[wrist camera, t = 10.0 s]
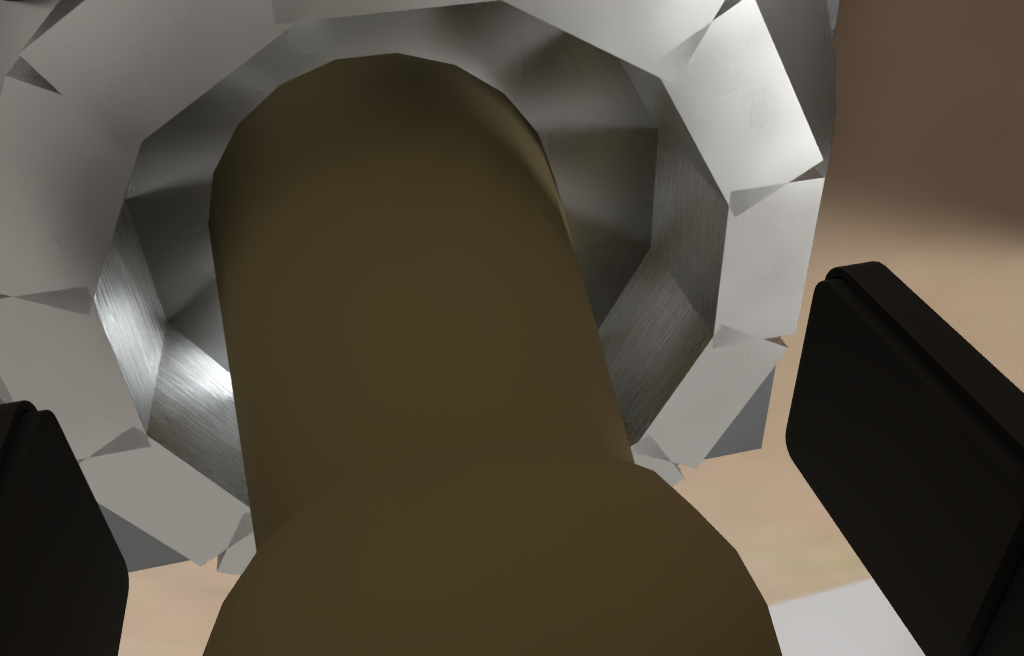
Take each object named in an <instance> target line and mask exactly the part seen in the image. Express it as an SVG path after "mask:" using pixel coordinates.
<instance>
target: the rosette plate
mask: <svg viewBox="0 0 1024 656" xmlns="http://www.w3.org/2000/svg"><path fill="white" fill-rule="evenodd" d="M839 3H840V0H0V403H1V404H4V403H10V402H16V401H23V400H26V401H30V402H31V403H32V404H33V405H35V407H36V409H37V410H38V411H41V410H50V411H52V412H53V413H54V415H55V416H56V418H57V420H58V422H59V424H60V426H61V428H62V430H63V432H64V434H65V437H66V439H67V441H68V443H69V445H70V447H71V449H72V451H73V453H74V455H75V457H76V459H77V462H78V464H79V466H80V468H81V470H82V472H83V474H84V476H85V478H86V480H87V482H88V485H89V487H90V489H91V491H92V493H93V495H94V497H95V499H96V501H97V503H98V505H99V507H100V510H101V512H102V514H103V516H104V518H105V520H106V522H107V524H108V526H109V528H110V530H111V532H112V535H113V537H114V539H115V541H116V543H117V545H118V547H119V549H120V551H121V553H122V555H123V557H124V560H125V562H126V566H127V570H128V572H132V571H138V570H143V569H148V568H153V567H158V566H163V565H168V564H173V563H178V562H183V561H189V560H191V561H193V562H195V563H196V564H198V565H200V566H202V565H203V564H205V563H206V562H208V561H209V560H211V559H213V558H214V557H216V556H217V555H218V562H217V572H222V573H229V574H236V575H242V573H243V572H244V570H245V569H246V567H247V566H248V564H249V563H250V561H251V560H252V558H253V557H254V555H255V554H256V545H255V539H254V532H253V525H252V518H251V512H250V505H249V498H248V491H247V485H246V478H245V471H244V464H243V458H242V451H241V444H240V437H239V431H238V424H237V417H236V410H235V403H234V397H233V390H232V383H231V376H230V370H229V363H228V356H227V349H226V343H225V336H224V329H223V322H222V316H221V309H220V302H219V295H218V289H217V282H216V275H215V268H214V262H213V255H212V248H211V241H210V235H209V228H208V221H209V211H210V200H211V190H212V179H213V173H214V171H215V169H216V167H217V165H218V163H219V161H220V159H221V157H222V155H223V153H224V151H225V149H226V147H227V145H228V143H229V141H230V139H231V137H232V135H233V133H234V131H235V129H236V127H237V125H238V124H239V123H240V122H241V121H242V120H243V119H244V118H245V117H246V116H247V115H248V114H249V113H251V112H252V111H253V110H254V109H255V108H256V107H257V106H258V105H259V104H260V103H261V102H262V101H263V100H264V99H265V98H266V97H268V96H269V95H270V94H271V93H272V92H273V91H274V90H275V89H276V88H277V87H278V86H279V85H280V84H283V83H285V82H287V81H289V80H291V79H294V78H296V77H298V76H300V75H303V74H305V73H307V72H309V71H311V70H314V69H316V68H318V67H320V66H322V65H325V64H327V63H329V62H331V61H334V60H336V59H344V58H353V57H363V56H372V55H381V54H391V53H401V54H406V55H410V56H415V57H420V58H425V59H429V60H434V61H439V62H444V63H449V64H453V65H457V66H458V67H460V68H462V69H463V70H465V71H467V72H469V73H470V74H472V75H474V76H475V77H477V78H479V79H481V80H482V81H484V82H486V83H487V84H489V85H491V86H493V87H494V88H496V89H498V90H499V91H501V92H503V93H504V94H505V95H506V96H507V97H508V98H509V100H510V101H511V102H512V103H513V104H514V105H515V107H516V108H517V109H518V110H519V111H520V112H521V114H522V115H523V116H524V117H525V118H526V120H527V121H528V122H529V123H530V124H531V125H532V127H533V128H534V129H535V130H536V131H537V132H538V135H539V137H540V140H541V143H542V145H543V148H544V151H545V153H546V156H547V159H548V161H549V164H550V167H551V170H552V172H553V175H554V178H555V181H556V184H557V188H558V192H559V195H560V199H561V202H562V206H563V209H564V213H565V216H566V220H567V224H568V227H569V231H570V234H571V238H572V241H573V245H574V248H575V252H576V256H577V259H578V263H579V266H580V270H581V273H582V277H583V280H584V284H585V288H586V291H587V295H588V298H589V302H590V305H591V309H592V312H593V316H594V320H595V323H596V327H597V330H598V334H599V337H600V341H601V345H602V348H603V352H604V355H605V359H606V362H607V366H608V369H609V373H610V377H611V380H612V384H613V387H614V391H615V394H616V398H617V401H618V405H619V409H620V412H621V416H622V419H623V423H624V426H625V430H626V433H627V437H628V441H629V444H630V448H631V451H632V455H633V458H634V462H635V464H637V465H640V466H642V467H645V468H648V469H650V470H653V471H655V472H656V473H657V474H658V475H659V476H660V477H661V478H663V479H664V480H665V481H666V482H667V483H668V484H669V485H670V486H671V487H672V486H673V485H675V484H677V483H678V482H680V481H682V480H683V479H685V478H684V476H683V475H682V473H681V471H680V469H679V467H678V464H681V465H685V466H689V467H693V468H697V467H698V466H699V464H700V463H701V462H702V461H703V460H704V459H709V458H714V457H719V456H724V455H729V454H734V453H739V452H745V451H750V450H755V449H760V448H761V446H762V440H763V435H764V429H765V423H766V418H767V412H768V406H769V401H770V395H771V389H772V384H773V378H774V372H775V367H776V364H777V363H778V361H779V360H780V359H781V358H782V356H783V355H784V354H785V352H786V351H787V350H788V347H787V345H786V344H785V343H784V342H783V340H782V339H781V336H784V335H790V334H796V329H797V323H798V318H799V313H800V307H801V302H802V297H803V291H804V286H805V281H806V276H807V270H808V265H809V260H810V254H811V249H812V244H813V238H814V233H815V228H816V222H817V217H818V212H819V207H820V201H821V196H822V191H823V186H824V182H825V178H826V174H827V170H828V166H829V160H830V152H831V144H832V136H833V128H834V120H835V55H834V48H833V37H834V32H835V26H836V20H837V15H838V9H839Z"/></svg>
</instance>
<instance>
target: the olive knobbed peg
mask: <svg viewBox="0 0 1024 656" xmlns="http://www.w3.org/2000/svg"><path fill="white" fill-rule="evenodd" d="M208 228H209V235H210V241H211V248H212V255H213V262H214V268H215V275H216V282H217V289H218V295H219V302H220V309H221V316H222V322H223V329H224V336H225V343H226V349H227V356H228V363H229V370H230V376H231V383H232V390H233V397H234V403H235V410H236V417H237V424H238V431H239V437H240V444H241V451H242V458H243V464H244V471H245V478H246V485H247V491H248V498H249V505H250V512H251V518H252V525H253V532H254V539H255V545H256V554H255V555H254V557H253V558H252V560H251V561H250V563H249V564H248V566H247V567H246V569H245V570H244V572H243V573H242V575H241V576H240V578H239V579H238V581H237V582H236V584H235V585H234V587H233V588H232V590H231V591H230V593H229V594H228V596H227V597H226V599H225V600H224V602H223V604H222V606H221V609H220V611H219V614H218V617H217V619H216V622H215V624H214V627H213V630H212V632H211V635H210V637H209V640H208V643H207V645H206V648H205V650H204V653H203V656H782V653H781V649H780V646H779V643H778V639H777V636H776V633H775V630H774V626H773V623H772V619H771V616H770V613H769V609H768V606H767V604H766V602H765V600H764V598H763V596H762V595H761V593H760V591H759V589H758V588H757V586H756V584H755V582H754V581H753V579H752V577H751V575H750V574H749V572H748V570H747V568H746V567H745V565H744V563H743V561H742V560H741V558H740V556H739V554H738V552H737V551H736V550H735V548H734V547H733V546H732V545H731V544H730V543H729V542H728V541H727V540H726V539H725V538H724V537H723V536H722V535H721V534H720V533H719V532H718V531H717V530H716V529H715V528H714V527H713V526H712V525H711V524H710V523H709V522H708V521H707V520H706V519H705V518H704V517H703V516H702V515H701V514H700V513H699V512H698V511H697V510H696V509H695V508H694V507H693V506H692V505H691V504H690V503H689V502H688V501H687V500H685V499H684V498H683V497H682V496H681V495H680V494H679V493H678V492H677V491H676V490H675V489H673V488H672V487H671V486H670V485H669V484H668V483H667V482H666V481H665V480H664V479H663V478H661V477H660V476H659V475H658V474H657V473H656V472H655V471H653V470H650V469H648V468H645V467H642V466H640V465H637V464H635V462H634V458H633V455H632V451H631V448H630V444H629V441H628V437H627V433H626V430H625V426H624V423H623V419H622V416H621V412H620V409H619V405H618V401H617V398H616V394H615V391H614V387H613V384H612V380H611V377H610V373H609V369H608V366H607V362H606V359H605V355H604V352H603V348H602V345H601V341H600V337H599V334H598V330H597V327H596V323H595V320H594V316H593V312H592V309H591V305H590V302H589V298H588V295H587V291H586V288H585V284H584V280H583V277H582V273H581V270H580V266H579V263H578V259H577V256H576V252H575V248H574V245H573V241H572V238H571V234H570V231H569V227H568V224H567V220H566V216H565V213H564V209H563V206H562V202H561V199H560V195H559V192H558V188H557V184H556V181H555V178H554V175H553V172H552V170H551V167H550V164H549V161H548V159H547V156H546V153H545V151H544V148H543V145H542V143H541V140H540V137H539V135H538V132H537V131H536V130H535V129H534V128H533V127H532V125H531V124H530V123H529V122H528V121H527V120H526V118H525V117H524V116H523V115H522V114H521V112H520V111H519V110H518V109H517V108H516V107H515V105H514V104H513V103H512V102H511V101H510V100H509V98H508V97H507V96H506V95H505V94H504V93H503V92H501V91H499V90H498V89H496V88H494V87H493V86H491V85H489V84H487V83H486V82H484V81H482V80H481V79H479V78H477V77H475V76H474V75H472V74H470V73H469V72H467V71H465V70H463V69H462V68H460V67H458V66H457V65H453V64H449V63H444V62H439V61H434V60H429V59H425V58H420V57H415V56H410V55H406V54H401V53H391V54H381V55H372V56H363V57H353V58H344V59H336V60H334V61H331V62H329V63H327V64H325V65H322V66H320V67H318V68H316V69H314V70H311V71H309V72H307V73H305V74H303V75H300V76H298V77H296V78H294V79H291V80H289V81H287V82H285V83H283V84H280V85H279V86H278V87H277V88H276V89H275V90H274V91H273V92H272V93H271V94H270V95H269V96H268V97H266V98H265V99H264V100H263V101H262V102H261V103H260V104H259V105H258V106H257V107H256V108H255V109H254V110H253V111H252V112H251V113H249V114H248V115H247V116H246V117H245V118H244V119H243V120H242V121H241V122H240V123H239V124H238V125H237V127H236V129H235V131H234V133H233V135H232V137H231V139H230V141H229V143H228V145H227V147H226V149H225V151H224V153H223V155H222V157H221V159H220V161H219V163H218V165H217V167H216V169H215V171H214V173H213V179H212V190H211V200H210V211H209V221H208Z"/></svg>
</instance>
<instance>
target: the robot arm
mask: <svg viewBox="0 0 1024 656" xmlns="http://www.w3.org/2000/svg"><path fill="white" fill-rule="evenodd" d="M785 437H786V445H787V449H788V452H789V455H790V457H791V459H792V461H793V462H794V464H795V465H796V466H797V468H798V469H799V471H800V472H801V474H802V475H803V477H804V478H805V480H806V481H807V483H808V484H809V485H810V487H811V488H812V490H813V491H814V493H815V494H816V496H817V497H818V499H819V500H820V502H821V503H822V505H823V506H824V507H825V509H826V510H827V512H828V513H829V515H830V516H831V518H832V519H833V521H834V522H835V524H836V525H837V526H838V528H839V529H840V531H841V532H842V534H843V535H844V537H845V538H846V540H847V541H848V543H849V544H850V545H851V547H852V548H853V550H854V551H855V553H856V554H857V556H858V557H859V559H860V560H861V562H862V563H863V565H864V566H865V567H866V569H867V570H868V572H869V573H870V575H871V576H872V578H873V579H874V580H875V582H876V583H877V585H878V586H879V588H880V589H881V591H882V592H883V594H884V595H885V597H886V598H887V599H888V601H889V602H890V604H891V605H892V607H893V608H894V610H895V611H896V613H897V614H898V616H899V617H900V619H901V620H902V622H903V623H904V624H905V626H906V627H907V629H908V630H909V632H910V633H911V635H912V636H913V638H914V639H915V640H916V642H917V644H918V645H919V646H920V648H921V649H922V651H923V652H924V654H925V655H926V656H1024V393H1023V392H1022V391H1021V390H1020V389H1019V388H1017V387H1016V386H1015V385H1014V384H1013V383H1012V382H1011V381H1010V380H1009V379H1008V378H1007V377H1005V376H1004V375H1003V374H1002V373H1001V372H1000V371H999V370H998V369H997V368H996V367H995V366H993V365H992V364H991V363H990V362H989V361H988V360H987V359H986V358H985V357H984V356H983V355H982V354H980V353H979V352H978V351H977V350H976V349H975V348H974V347H973V346H972V345H971V344H970V343H968V342H967V341H966V340H965V339H964V338H963V337H962V336H961V335H960V334H959V333H958V332H957V331H955V330H954V329H953V328H952V327H951V326H950V325H949V324H948V323H947V322H946V321H945V320H943V319H942V318H941V317H940V316H939V315H938V314H937V313H936V312H935V311H934V310H933V309H931V308H930V307H929V306H928V305H927V304H926V303H925V302H924V301H923V300H922V299H921V298H920V297H918V296H917V295H916V294H915V293H914V292H913V291H912V290H911V289H910V288H909V287H908V286H906V285H905V284H904V283H903V282H902V281H901V280H900V279H899V278H898V277H897V276H896V275H895V274H893V273H892V272H891V271H890V270H889V269H888V268H887V267H886V266H885V265H883V264H881V263H880V262H875V261H872V262H866V263H860V264H853V265H847V266H841V267H835V268H833V269H831V270H830V271H829V272H828V274H827V275H826V278H825V281H821V282H819V283H818V284H817V285H816V287H815V290H814V294H813V299H812V304H811V309H810V314H809V319H808V324H807V329H806V334H805V339H804V344H803V349H802V354H801V359H800V364H799V369H798V374H797V379H796V384H795V389H794V394H793V398H792V403H791V408H790V413H789V418H788V423H787V428H786V436H785ZM128 590H129V577H128V570H127V566H126V562H125V560H124V557H123V555H122V553H121V551H120V549H119V547H118V545H117V543H116V541H115V539H114V537H113V535H112V532H111V530H110V528H109V526H108V524H107V522H106V520H105V518H104V516H103V514H102V512H101V510H100V507H99V505H98V503H97V501H96V499H95V497H94V495H93V493H92V491H91V489H90V487H89V485H88V482H87V480H86V478H85V476H84V474H83V472H82V470H81V468H80V466H79V464H78V462H77V459H76V457H75V455H74V453H73V451H72V449H71V447H70V445H69V443H68V441H67V439H66V437H65V434H64V432H63V430H62V428H61V426H60V424H59V422H58V420H57V418H56V416H55V415H54V413H53V412H52V411H50V410H41V411H38V410H37V409H36V407H35V405H33V404H32V403H31V402H30V401H26V400H23V401H16V402H10V403H4V404H0V656H118V651H119V645H120V639H121V633H122V627H123V621H124V615H125V609H126V603H127V597H128Z"/></svg>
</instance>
